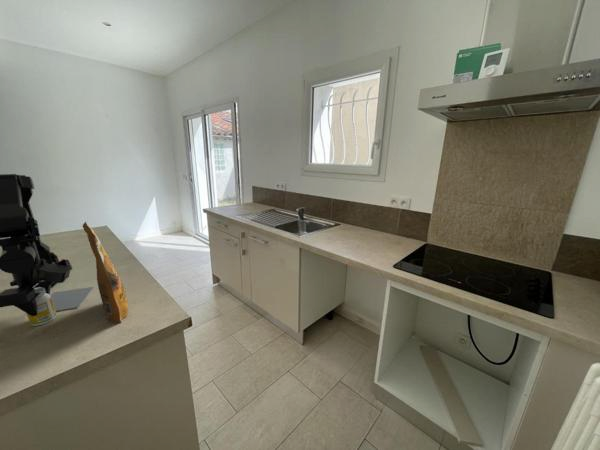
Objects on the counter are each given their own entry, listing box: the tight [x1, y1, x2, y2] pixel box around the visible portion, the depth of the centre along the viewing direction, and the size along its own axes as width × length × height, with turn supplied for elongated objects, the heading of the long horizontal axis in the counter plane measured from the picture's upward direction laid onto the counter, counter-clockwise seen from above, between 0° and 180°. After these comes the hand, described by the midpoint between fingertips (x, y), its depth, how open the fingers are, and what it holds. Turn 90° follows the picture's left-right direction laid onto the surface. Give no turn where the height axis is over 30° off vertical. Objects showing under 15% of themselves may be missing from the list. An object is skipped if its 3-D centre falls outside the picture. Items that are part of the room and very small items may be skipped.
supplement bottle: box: [26, 287, 57, 327], centre depth 69 cm, size 5×5×10 cm
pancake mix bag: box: [82, 221, 129, 323], centre depth 72 cm, size 7×19×28 cm, turn 38°
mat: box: [50, 286, 94, 313], centre depth 80 cm, size 11×13×1 cm
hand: (40, 309), depth 70 cm, fingers closed on supplement bottle, 5 cm apart
